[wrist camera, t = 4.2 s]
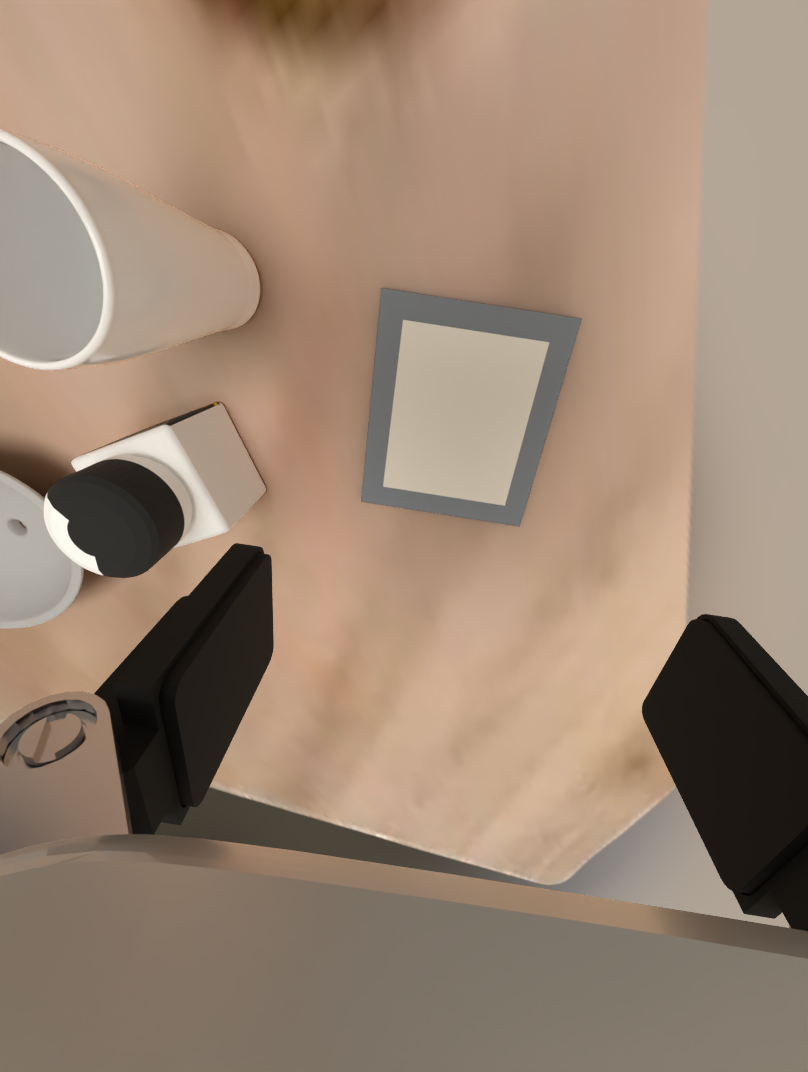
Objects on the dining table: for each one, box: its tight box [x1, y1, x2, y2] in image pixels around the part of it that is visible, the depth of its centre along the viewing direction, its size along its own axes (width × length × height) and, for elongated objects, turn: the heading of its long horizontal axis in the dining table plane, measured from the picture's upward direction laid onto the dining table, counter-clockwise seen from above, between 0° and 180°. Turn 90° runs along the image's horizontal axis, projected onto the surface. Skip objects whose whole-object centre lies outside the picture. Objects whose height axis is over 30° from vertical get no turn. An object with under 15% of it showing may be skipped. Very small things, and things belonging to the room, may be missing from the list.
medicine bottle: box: [44, 402, 266, 578], centre depth 27 cm, size 7×7×12 cm
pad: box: [361, 288, 581, 527], centre depth 29 cm, size 14×12×1 cm
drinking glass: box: [0, 129, 260, 370], centre depth 20 cm, size 7×7×15 cm
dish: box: [0, 470, 84, 629], centre depth 34 cm, size 18×14×5 cm
